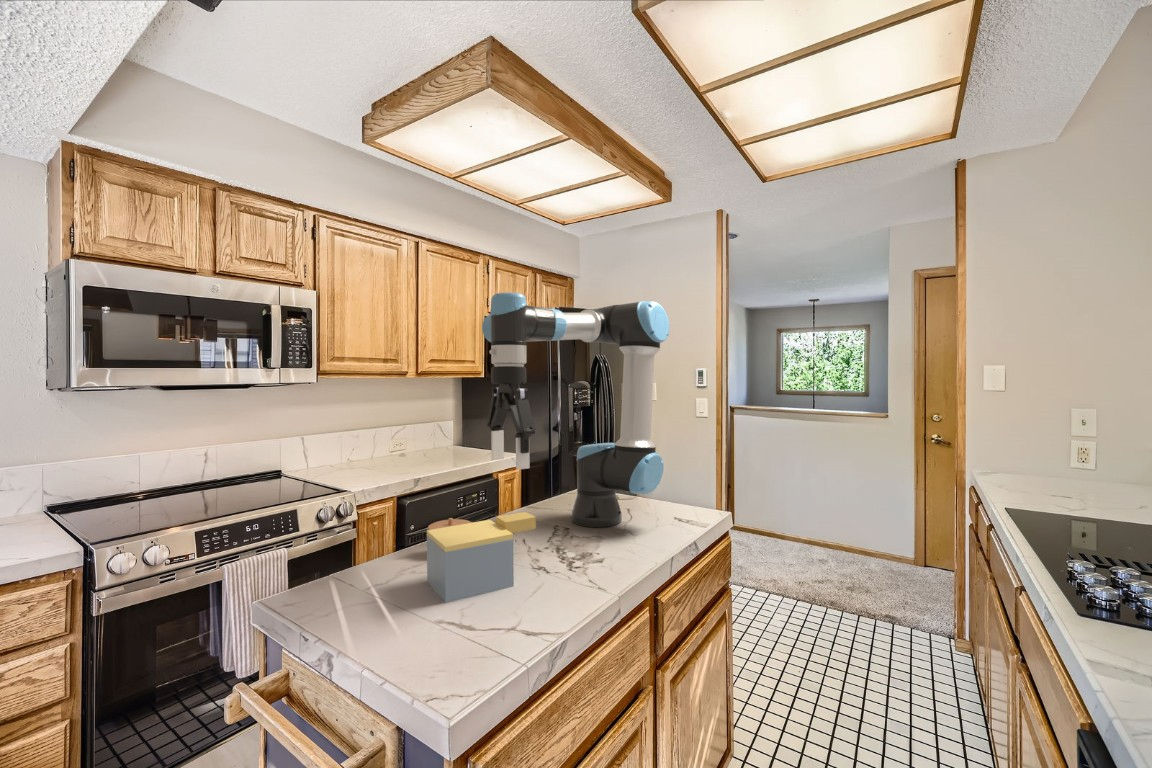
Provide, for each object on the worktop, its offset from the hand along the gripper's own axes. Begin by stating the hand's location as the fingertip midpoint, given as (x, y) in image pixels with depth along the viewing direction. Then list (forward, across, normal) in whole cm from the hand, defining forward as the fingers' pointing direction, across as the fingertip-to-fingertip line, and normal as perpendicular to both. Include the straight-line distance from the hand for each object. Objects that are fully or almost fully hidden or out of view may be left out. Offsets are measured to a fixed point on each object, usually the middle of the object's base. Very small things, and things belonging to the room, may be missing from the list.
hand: (509, 463), depth 111 cm
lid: (+14, +1, -6) cm, 15 cm away
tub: (+25, +2, -10) cm, 27 cm away
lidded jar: (+25, -19, -7) cm, 32 cm away
